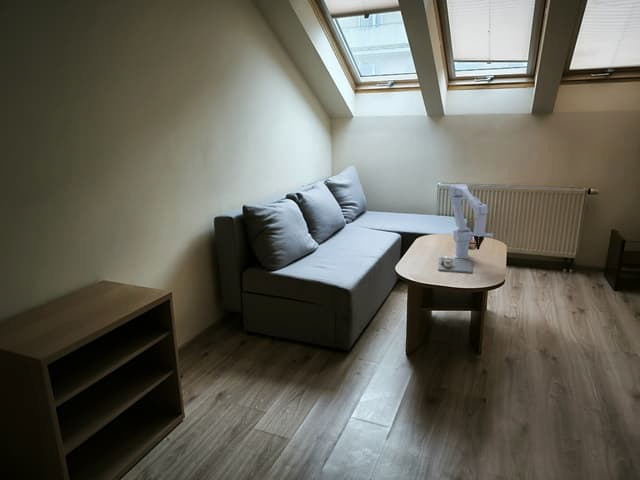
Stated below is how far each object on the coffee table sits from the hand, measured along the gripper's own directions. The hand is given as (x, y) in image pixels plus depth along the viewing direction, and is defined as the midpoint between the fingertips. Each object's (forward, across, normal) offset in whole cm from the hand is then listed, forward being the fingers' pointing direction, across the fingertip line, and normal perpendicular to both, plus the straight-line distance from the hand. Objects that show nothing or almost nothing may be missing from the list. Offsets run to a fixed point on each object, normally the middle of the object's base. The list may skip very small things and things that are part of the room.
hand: (477, 249), depth 256 cm
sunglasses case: (+10, -2, +39) cm, 40 cm away
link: (+8, -16, -5) cm, 19 cm away
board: (+9, -12, -6) cm, 16 cm away
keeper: (+8, -17, -7) cm, 20 cm away
